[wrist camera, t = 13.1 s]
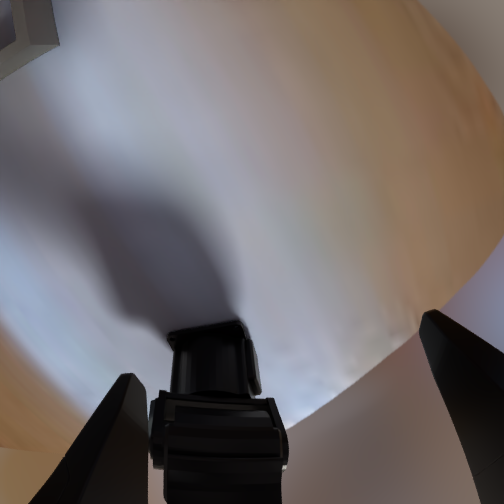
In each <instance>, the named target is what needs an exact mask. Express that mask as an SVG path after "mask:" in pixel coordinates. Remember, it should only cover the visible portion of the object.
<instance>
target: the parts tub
mask: <svg viewBox="0 0 504 504" xmlns="http://www.w3.org/2000/svg"><path fill="white" fill-rule="evenodd" d="M10 2H11V10H12V17H13V23H14V29H15V35H16V40H15V41H14V42H12V43H11V44H9V45H8V46H6V47H5V48H3V49H2V50H1V51H0V81H1V80H2V79H4V78H5V77H7V76H8V75H10V74H11V73H13V72H14V71H16V70H17V69H19V68H21V67H22V66H24V65H25V64H27V63H29V62H30V61H32V60H34V59H35V58H37V57H39V56H41V55H42V54H44V53H46V52H48V51H50V50H51V49H53V48H55V47H57V46H59V45H60V44H59V40H58V35H57V30H56V26H55V21H54V15H53V10H52V4H51V0H10Z"/></svg>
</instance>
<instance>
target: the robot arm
mask: <svg viewBox="0 0 504 504" xmlns="http://www.w3.org/2000/svg"><path fill="white" fill-rule="evenodd" d="M235 326H238V327H235ZM419 335H420V338H421V342H422V344H423V347H424V350H425V353H426V356H427V359H428V362H429V365H430V368H431V371H432V374H433V377H434V379H435V381H436V384H437V386H438V388H439V390H440V393H441V395H442V398H443V400H444V402H445V405H446V407H447V409H448V412H449V414H450V417H451V419H452V421H453V424H454V426H455V429H456V432H457V434H458V437H459V439H460V442H461V445H462V447H463V450H464V453H465V455H466V459H467V461H468V464H469V467H470V470H471V473H472V476H473V480H474V483H475V486H476V489H477V492H478V496H479V499H480V502H481V504H504V353H502V352H501V351H499V350H498V349H497V348H495V347H493V346H492V345H491V344H489V343H488V342H486V341H484V340H483V339H482V338H480V337H479V336H477V335H476V334H474V333H472V332H471V331H469V330H468V329H466V328H465V327H463V326H462V325H460V324H459V323H457V322H455V321H454V320H452V319H451V318H449V317H448V316H446V315H444V314H443V313H441V312H440V311H438V310H436V309H433V310H430V311H427V312H424V314H423V316H422V320H421V324H420V328H419ZM171 337H172V338H171ZM167 341H168V343H169V345H170V346H171V348H172V350H173V352H174V353H173V363H172V373H171V385H170V392H167V391H165V390H159V397H158V398H156V399H155V400H152V401H151V404H150V412H149V420H148V415H147V397H146V390H145V387H144V386H143V384H142V383H141V382H140V381H139V379H138V378H137V377H136V375H135V374H133V373H124V374H121V375H120V376H119V377H118V379H117V380H116V382H115V383H114V384H113V386H112V387H111V389H110V390H109V391H108V393H107V394H106V396H105V397H104V399H103V400H102V401H101V403H100V404H99V406H98V407H97V409H96V410H95V411H94V413H93V414H92V416H91V417H90V419H89V420H88V422H87V423H86V425H85V426H84V427H83V429H82V430H81V432H80V433H79V435H78V436H77V438H76V439H75V441H74V442H73V444H72V445H71V447H70V448H69V450H68V451H67V453H66V454H65V457H63V459H62V460H61V462H60V463H59V465H58V466H57V467H56V469H55V470H54V472H53V473H52V475H51V476H50V477H49V479H48V480H47V481H46V483H45V484H44V485H43V486H42V487H41V489H40V490H39V491H38V492H37V494H36V495H35V496H34V497H33V498H32V500H31V501H30V502H29V503H28V504H148V452H149V453H150V456H151V459H153V468H154V469H159V470H164V489H163V494H164V499H165V501H166V502H167V504H282V496H281V477H282V472H284V470H285V469H286V466H287V462H288V456H289V446H288V438H287V434H286V431H285V428H284V425H283V423H282V420H281V417H280V414H279V411H278V409H277V406H276V403H275V400H274V398H266V399H256V398H255V396H256V395H260V394H261V392H262V389H261V382H260V374H259V366H258V359H257V354H256V351H255V348H254V345H253V342H252V340H250V339H247V338H246V334H245V331H244V328H243V325H242V323H241V322H240V321H232V322H226V323H221V324H215V325H210V326H204V327H199V328H193V329H187V330H181V331H175V332H170V333H168V334H167Z"/></svg>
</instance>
